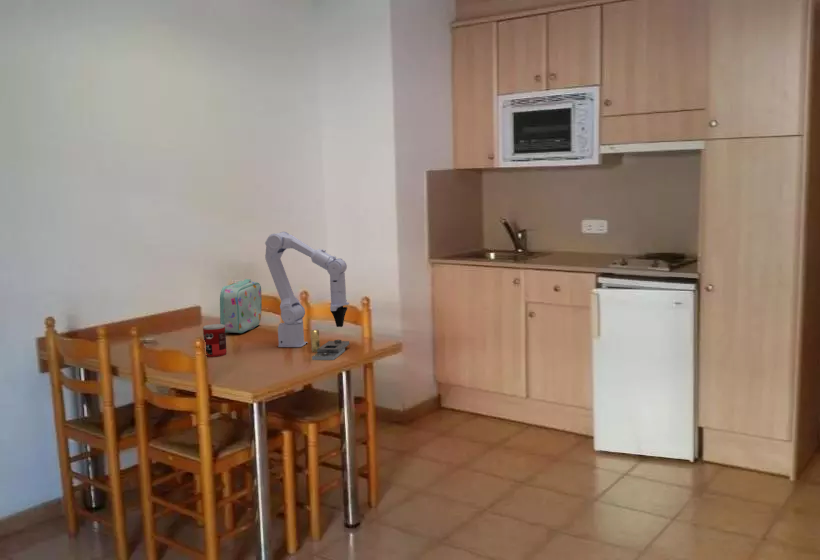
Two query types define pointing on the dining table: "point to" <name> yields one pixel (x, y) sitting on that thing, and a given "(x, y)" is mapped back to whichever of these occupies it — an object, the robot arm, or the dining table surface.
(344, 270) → the robot arm
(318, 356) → the chain end lower
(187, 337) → the dining table surface
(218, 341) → the canned food
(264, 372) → the dining table surface
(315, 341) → the brass pin
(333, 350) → the chain end upper
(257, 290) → the lunch box
